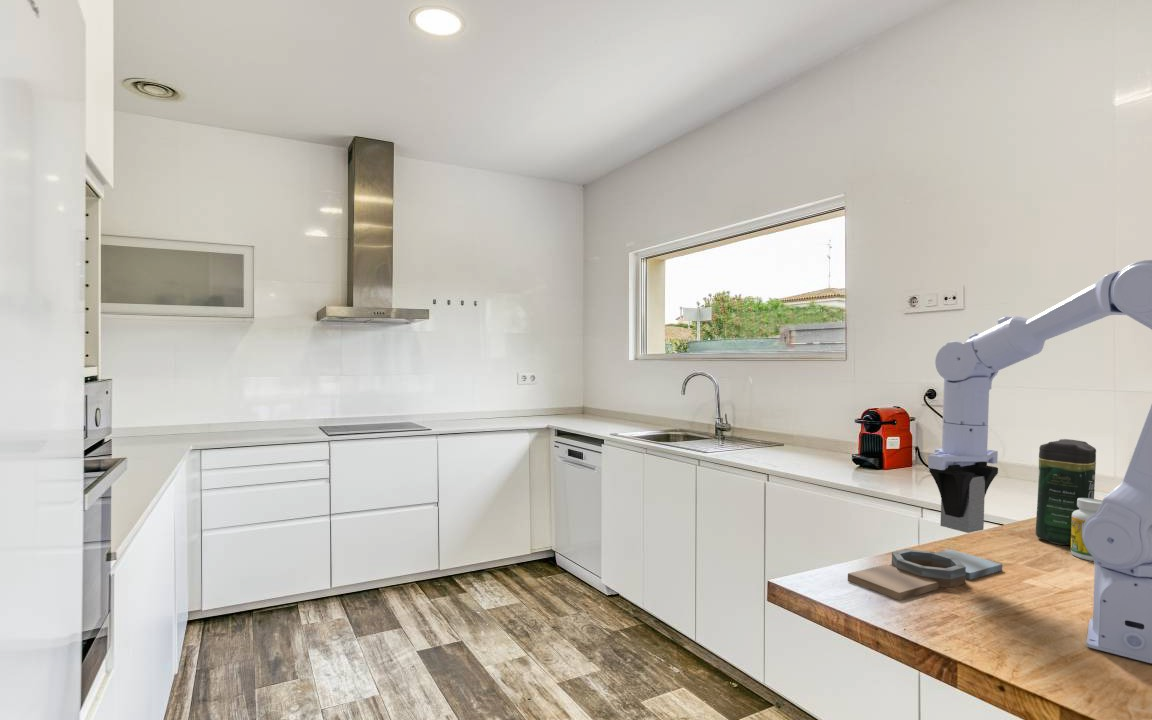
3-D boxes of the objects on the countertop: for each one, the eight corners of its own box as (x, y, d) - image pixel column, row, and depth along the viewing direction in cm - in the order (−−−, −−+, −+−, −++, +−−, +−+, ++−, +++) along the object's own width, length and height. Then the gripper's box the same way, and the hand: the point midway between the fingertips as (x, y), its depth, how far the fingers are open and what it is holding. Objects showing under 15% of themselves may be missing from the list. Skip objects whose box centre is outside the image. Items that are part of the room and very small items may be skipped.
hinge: (902, 601, 82) (903, 583, 82) (844, 579, 90) (844, 562, 90) (1005, 571, 95) (1006, 556, 95) (946, 554, 103) (947, 540, 103)
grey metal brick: (968, 533, 89) (969, 478, 89) (940, 525, 92) (942, 472, 92) (983, 529, 91) (985, 475, 91) (955, 522, 94) (957, 470, 94)
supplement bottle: (1110, 565, 99) (1112, 506, 99) (1068, 557, 103) (1070, 500, 103) (1112, 557, 103) (1114, 500, 103) (1072, 550, 107) (1073, 495, 107)
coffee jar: (1085, 551, 106) (1088, 444, 106) (1030, 539, 112) (1033, 438, 112) (1098, 541, 112) (1101, 440, 112) (1045, 531, 119) (1048, 435, 118)
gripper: (965, 418, 98) (962, 503, 98) (909, 422, 91) (906, 512, 92) (1013, 423, 92) (1010, 513, 92) (957, 427, 85) (954, 525, 85)
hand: (962, 514), depth 92 cm, fingers closed on grey metal brick, 4 cm apart
